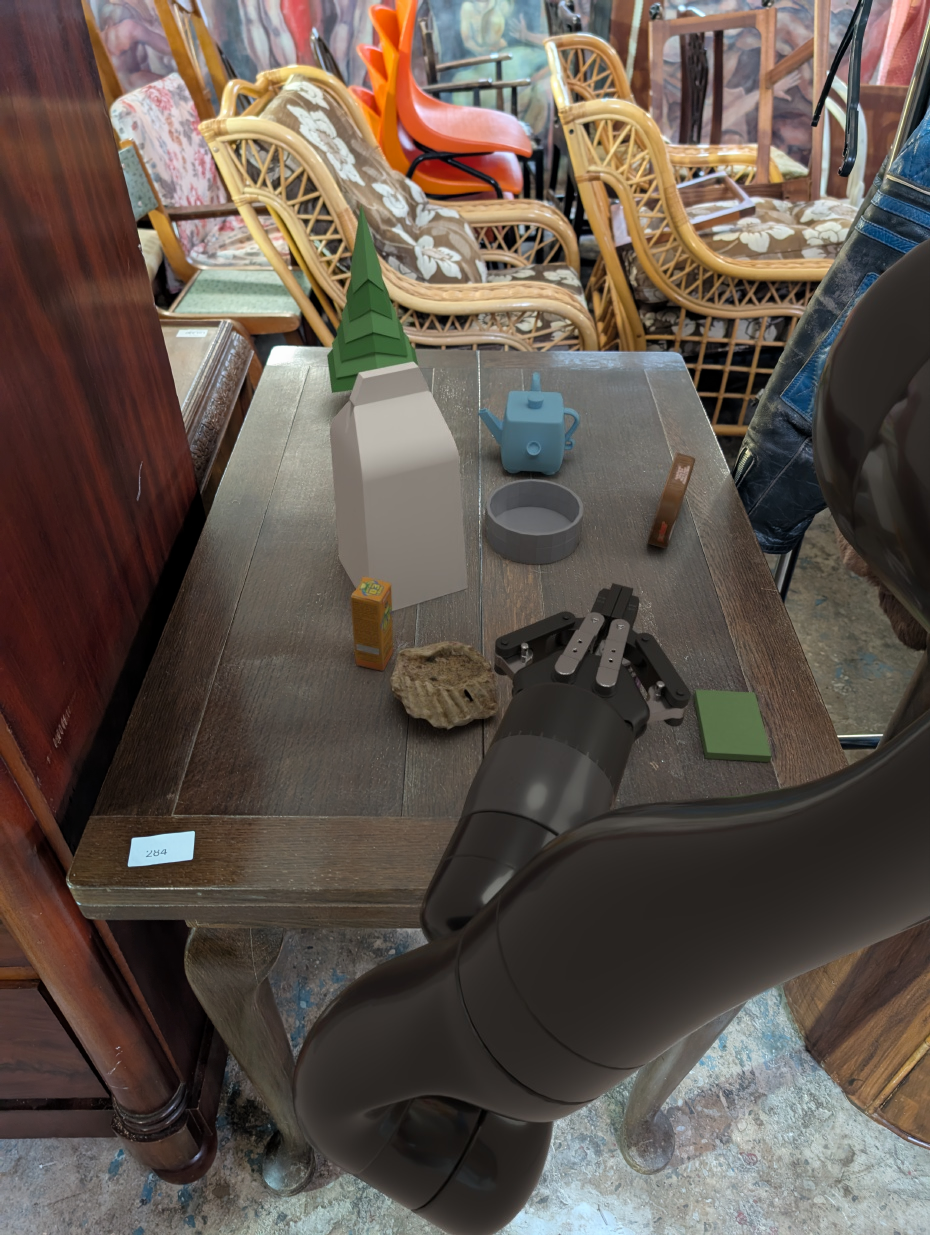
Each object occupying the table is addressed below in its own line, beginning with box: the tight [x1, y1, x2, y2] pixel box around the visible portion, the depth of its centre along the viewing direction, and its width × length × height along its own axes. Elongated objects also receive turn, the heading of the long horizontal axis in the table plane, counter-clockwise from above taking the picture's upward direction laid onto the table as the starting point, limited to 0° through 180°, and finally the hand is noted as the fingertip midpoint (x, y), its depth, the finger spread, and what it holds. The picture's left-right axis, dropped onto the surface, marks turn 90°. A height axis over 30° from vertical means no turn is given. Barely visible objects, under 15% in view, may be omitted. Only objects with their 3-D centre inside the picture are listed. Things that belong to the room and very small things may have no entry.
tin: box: [646, 451, 696, 549], centre depth 100 cm, size 15×3×8 cm, turn 159°
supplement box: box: [350, 577, 394, 672], centre depth 82 cm, size 3×3×10 cm
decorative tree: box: [326, 204, 419, 394], centre depth 115 cm, size 14×16×30 cm
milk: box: [329, 362, 469, 612], centre depth 87 cm, size 12×12×26 cm
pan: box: [484, 478, 585, 565], centre depth 100 cm, size 12×12×4 cm
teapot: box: [477, 371, 581, 476], centre depth 111 cm, size 18×14×10 cm
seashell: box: [389, 640, 499, 730], centre depth 79 cm, size 11×7×10 cm
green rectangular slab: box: [693, 689, 772, 763], centre depth 78 cm, size 8×6×1 cm
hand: (621, 594), depth 55 cm, fingers closed
